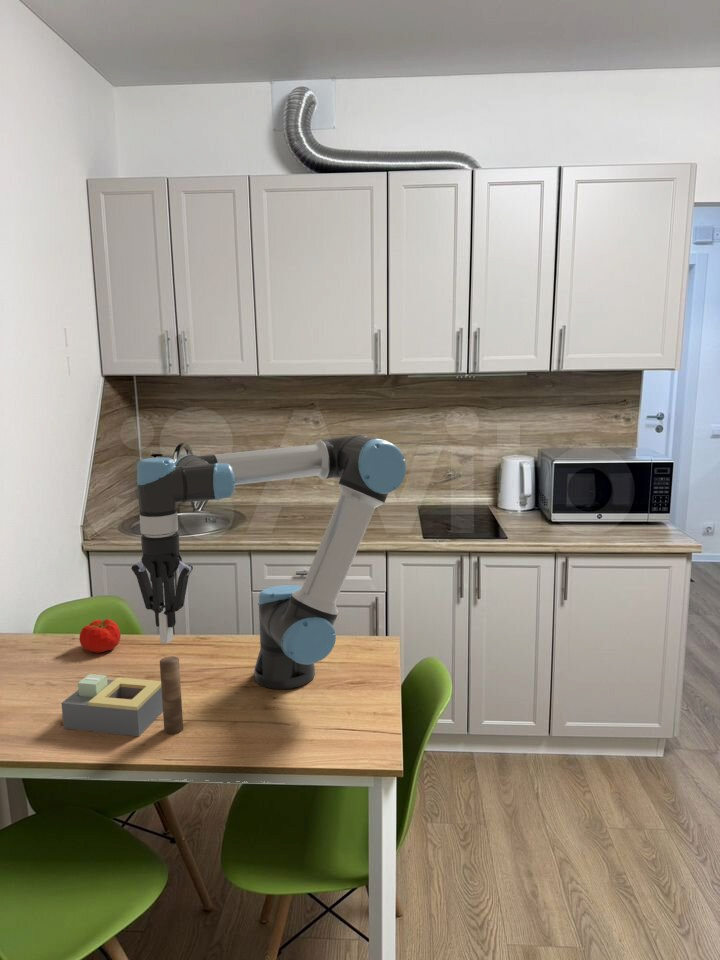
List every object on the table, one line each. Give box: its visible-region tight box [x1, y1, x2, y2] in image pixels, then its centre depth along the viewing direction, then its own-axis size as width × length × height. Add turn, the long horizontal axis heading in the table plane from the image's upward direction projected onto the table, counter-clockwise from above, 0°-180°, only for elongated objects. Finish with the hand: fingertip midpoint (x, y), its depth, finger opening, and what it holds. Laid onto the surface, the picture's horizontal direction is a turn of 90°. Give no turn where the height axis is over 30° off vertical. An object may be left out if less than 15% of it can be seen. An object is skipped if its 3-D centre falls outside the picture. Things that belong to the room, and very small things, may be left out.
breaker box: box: [61, 676, 163, 737], centre depth 158 cm, size 18×12×7 cm, turn 78°
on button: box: [77, 673, 108, 698], centre depth 159 cm, size 4×4×4 cm
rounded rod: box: [159, 655, 184, 735], centre depth 153 cm, size 4×4×16 cm
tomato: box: [78, 618, 121, 654], centre depth 196 cm, size 11×11×8 cm
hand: (166, 640), depth 150 cm, fingers closed
